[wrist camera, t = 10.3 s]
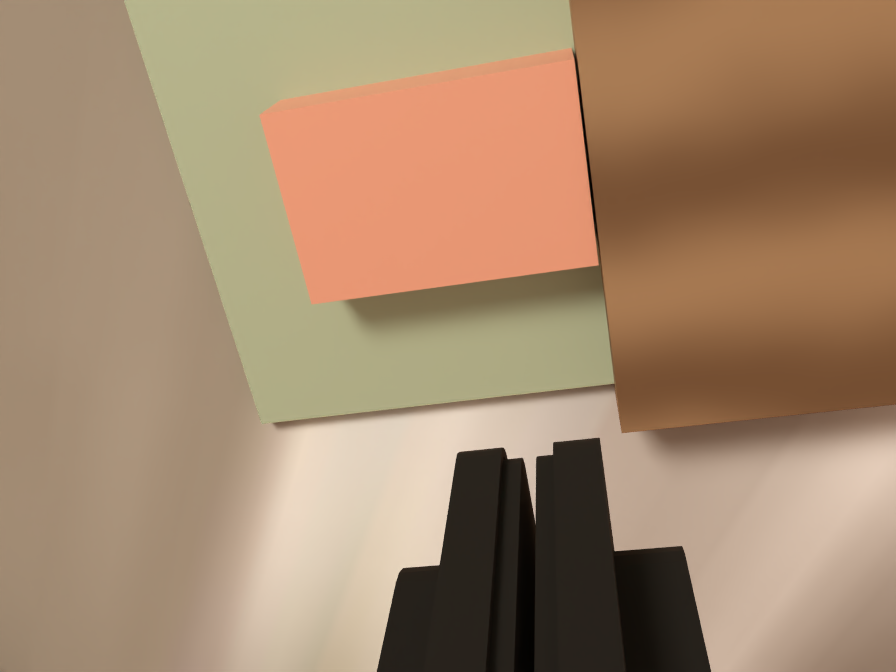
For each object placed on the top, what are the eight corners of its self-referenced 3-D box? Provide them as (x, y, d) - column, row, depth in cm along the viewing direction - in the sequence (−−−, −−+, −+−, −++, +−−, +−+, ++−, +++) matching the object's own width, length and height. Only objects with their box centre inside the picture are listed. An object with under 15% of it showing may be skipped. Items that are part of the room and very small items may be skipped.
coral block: (280, 100, 26) (259, 114, 24) (571, 48, 25) (574, 59, 23) (327, 278, 29) (311, 304, 27) (594, 240, 27) (598, 265, 25)
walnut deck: (550, -152, 23) (551, -161, 21) (986, -248, 22) (1049, -271, 19) (614, 387, 30) (621, 433, 28) (946, 349, 29) (989, 394, 26)
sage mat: (121, -38, 26) (112, -37, 25) (552, -131, 24) (553, -132, 23) (266, 415, 32) (261, 424, 32) (612, 375, 30) (614, 383, 30)
